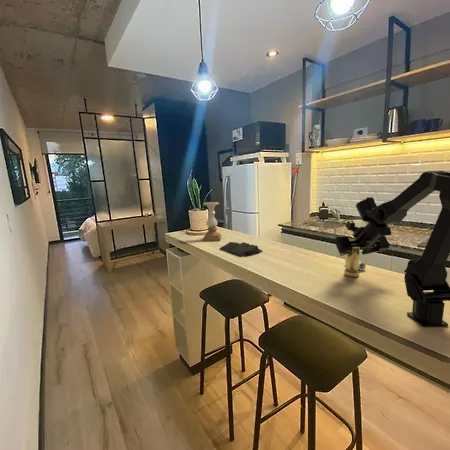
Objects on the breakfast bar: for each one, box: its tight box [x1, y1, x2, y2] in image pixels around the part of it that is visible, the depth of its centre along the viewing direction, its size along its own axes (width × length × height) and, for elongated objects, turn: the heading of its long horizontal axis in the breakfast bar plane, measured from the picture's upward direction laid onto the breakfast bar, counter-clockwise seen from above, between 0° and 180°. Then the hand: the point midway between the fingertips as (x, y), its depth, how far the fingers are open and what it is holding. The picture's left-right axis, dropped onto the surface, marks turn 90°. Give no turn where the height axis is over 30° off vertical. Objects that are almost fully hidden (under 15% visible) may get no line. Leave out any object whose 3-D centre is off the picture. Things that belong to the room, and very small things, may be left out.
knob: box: [343, 247, 361, 278], centre depth 102 cm, size 5×5×13 cm
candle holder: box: [202, 201, 222, 242], centre depth 170 cm, size 11×11×24 cm
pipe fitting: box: [345, 259, 367, 271], centre depth 111 cm, size 8×4×7 cm
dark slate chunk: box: [218, 241, 263, 258], centre depth 143 cm, size 15×22×5 cm
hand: (351, 254), depth 103 cm, fingers open, 9 cm apart
